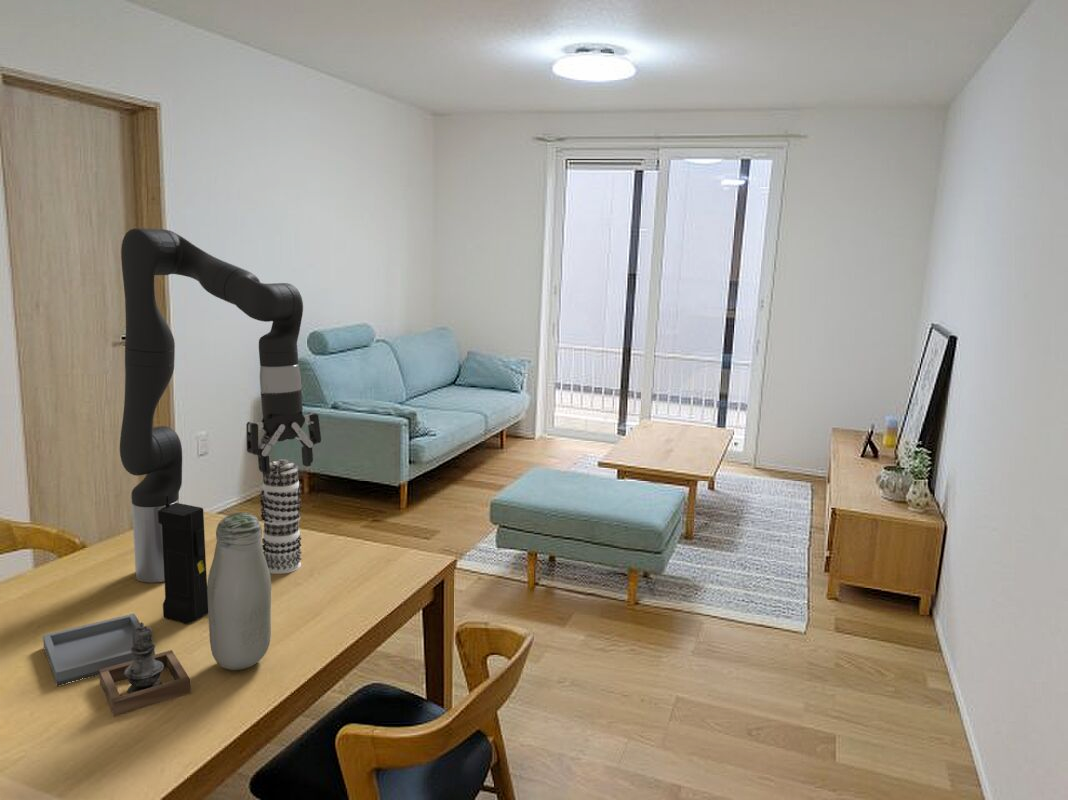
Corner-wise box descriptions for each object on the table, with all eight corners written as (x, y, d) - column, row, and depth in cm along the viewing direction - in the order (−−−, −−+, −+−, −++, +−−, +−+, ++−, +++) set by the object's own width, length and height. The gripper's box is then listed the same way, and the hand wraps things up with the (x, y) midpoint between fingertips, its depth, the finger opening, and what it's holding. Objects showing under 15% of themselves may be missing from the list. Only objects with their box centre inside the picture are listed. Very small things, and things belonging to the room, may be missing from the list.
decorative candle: (311, 564, 180) (310, 462, 175) (279, 578, 172) (277, 470, 167) (285, 555, 184) (283, 454, 179) (252, 567, 177) (250, 462, 172)
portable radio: (216, 613, 155) (212, 494, 150) (193, 626, 149) (188, 504, 144) (184, 605, 157) (179, 488, 152) (161, 618, 152) (156, 497, 147)
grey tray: (44, 647, 139) (42, 635, 139) (135, 625, 149) (134, 613, 148) (57, 686, 128) (56, 672, 127) (154, 659, 137) (154, 646, 137)
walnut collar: (99, 683, 129) (99, 669, 129) (172, 662, 136) (171, 649, 136) (114, 716, 121) (113, 702, 120) (191, 693, 128) (190, 679, 127)
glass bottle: (236, 686, 131) (232, 530, 125) (199, 666, 136) (193, 516, 130) (283, 661, 139) (281, 514, 133) (246, 643, 144) (242, 501, 138)
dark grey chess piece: (148, 701, 125) (145, 633, 123) (117, 695, 126) (112, 628, 124) (172, 681, 131) (169, 616, 128) (141, 676, 132) (138, 611, 130)
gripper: (305, 382, 155) (310, 460, 158) (236, 390, 146) (243, 473, 148) (324, 385, 150) (329, 466, 153) (253, 394, 140) (260, 480, 143)
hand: (286, 469), depth 151 cm, fingers open, 8 cm apart
